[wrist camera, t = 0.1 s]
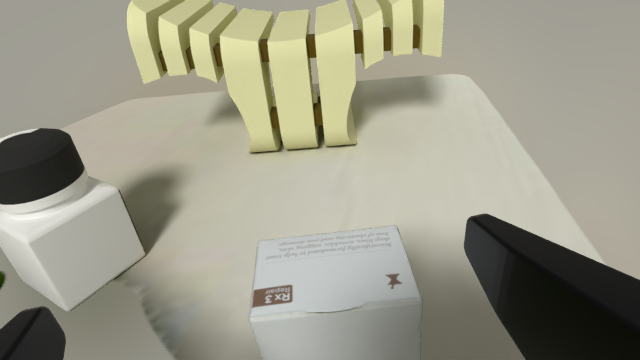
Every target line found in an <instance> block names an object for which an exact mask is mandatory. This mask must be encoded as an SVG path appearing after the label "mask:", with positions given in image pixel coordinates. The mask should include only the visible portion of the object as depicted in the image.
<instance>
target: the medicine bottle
mask: <svg viewBox="0 0 640 360" xmlns="http://www.w3.org/2000/svg"><path fill="white" fill-rule="evenodd" d="M0 247H1V249H2V250H3V252H4V253H5V255H6V256H7V258H8V259H9V260H10V262H11V264H12V265H13V267H14V268H15V270H16V271H17V273H18V274H19V276H20V277H21V279H22V280H23V281H24V282H26V283H27V284H28V285H30V286H31V287H33V288H34V289H36V290H37V291H38V292H40V293H41V294H43V295H44V296H45V297H47V298H48V299H50V300H51V301H52V302H54V303H55V304H57V305H58V306H60V307H61V308H62V309H64V310H65V311H72V310H73V309H74V308H76V307H77V306H78V305H80V304H81V303H82V302H84V301H85V300H87V299H88V298H89V297H90V296H92V295H93V294H94V293H96V292H97V291H99V290H100V289H101V288H103V287H104V286H105V285H107V284H108V283H109V282H111V281H112V280H113V279H115V278H116V277H117V276H119V275H120V274H121V273H123V272H124V271H125V270H127V269H128V268H129V267H131V266H132V265H133V264H135V263H136V262H137V261H139V260H140V259H141V258H143V257H144V256H145V250H144V248H143V245H142V243H141V240H140V238H139V236H138V233H137V231H136V229H135V226H134V224H133V221H132V219H131V217H130V214H129V212H128V210H127V207H126V205H125V202H124V200H123V198H122V195H121V193H120V191H119V189H118V188H117V187H116V186H113V185H110V184H108V183H105V182H103V181H100V180H97V179H95V178H92V177H90V176H88V174H87V171H86V169H85V167H84V165H83V163H82V160H81V158H80V156H79V154H78V152H77V150H76V147H75V145H74V143H73V141H72V139H71V136H70V135H69V134H67V133H66V132H64V131H62V130H59V129H43V128H40V129H31V130H26V131H21V132H17V133H14V134H11V135H8V136H5V137H3V138H0Z"/></svg>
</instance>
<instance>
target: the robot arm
mask: <svg viewBox="0 0 640 360" xmlns="http://www.w3.org/2000/svg"><path fill="white" fill-rule="evenodd" d="M464 249H465V253H466V255H467V257H468V259H469V261H470V263H471V265H472V267H473V269H474V271H475V273H476V275H477V277H478V279H479V281H480V283H481V285H482V287H483V289H484V291H485V293H486V295H487V297H488V299H489V301H490V303H491V305H492V307H493V309H494V311H495V312H496V314H497V316H498V317H499V319H500V321H501V322H502V324H503V325H504V327H505V328H506V330H507V331H508V333H509V335H510V336H511V338H512V339H513V341H514V342H515V344H516V345H517V347H518V348H519V350H520V352H521V353H522V355H523V356H524V358H525V359H526V360H640V280H638V279H636V278H634V277H632V276H629V275H627V274H625V273H622V272H620V271H618V270H616V269H613V268H611V267H609V266H606V265H604V264H602V263H599V262H597V261H595V260H593V259H590V258H588V257H586V256H583V255H581V254H579V253H576V252H574V251H572V250H570V249H567V248H565V247H563V246H560V245H558V244H556V243H553V242H551V241H549V240H546V239H544V238H542V237H540V236H537V235H535V234H533V233H530V232H528V231H526V230H523V229H521V228H519V227H517V226H514V225H512V224H510V223H507V222H505V221H503V220H500V219H498V218H496V217H494V216H491V215H489V214H480V215H475V216H471V217H469V218H468V220H467V224H466V232H465V240H464ZM65 344H66V338H65V334H64V332H63V330H62V328H61V327H60V325H59V324H58V322H57V320H56V319H55V318H54V316H53V314H52V313H51V311H50V310H49V309H48V308H47V307H44V306H41V307H36V308H31V309H26V310H23V311H21V312H20V313H19V314H17V315H16V316H15V317H14V318H13V319H12V320H10V321H9V322H8V323H7V324H6V325H5V326H4V327H3V328H1V329H0V360H63V358H64V351H65Z"/></svg>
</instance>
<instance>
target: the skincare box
mask: <svg viewBox="0 0 640 360" xmlns="http://www.w3.org/2000/svg"><path fill="white" fill-rule="evenodd" d="M422 308H423V300H422V297H421V295H420V293H419V290H418V287H417V284H416V281H415V278H414V275H413V272H412V269H411V266H410V263H409V260H408V257H407V254H406V252H405V248H404V246H403V242H402V240H401V236H400V233H399V230H398V228H397V227H396V226H395V225H394V226H386V227H378V228H369V229H360V230H352V231H343V232H334V233H325V234H316V235H307V236H299V237H289V238H281V239H272V240H261V241H259V242H258V244H257V253H256V262H255V272H254V280H253V288H252V296H251V304H250V311H249V323H250V326H251V328H252V331H253V334H254V337H255V340H256V343H257V345H258V348H259V351H260V354H261V357H262V360H421V320H422Z"/></svg>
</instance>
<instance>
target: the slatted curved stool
mask: <svg viewBox="0 0 640 360" xmlns="http://www.w3.org/2000/svg"><path fill="white" fill-rule="evenodd" d="M378 2H379V5H380V7H381V8H380V7H379V5H378V3H377V2H376V1H375V0H353V7H354V10H355V14H356V19H357V24H358V30H353V23H352V19H351V16H350V13H349V10H348V6H347V3H346V0H339V1H336V2H333V3H330V4H327V5H323V6H320V7H316V23H315V34H309V22H310V13H309V9H306V10H298V11H286V12H280V14H279V16H278V18H277V20H276V23H275V25H274V28H273V30H272V32H271V28H272V25H273V23H274V15H273V12H271V11H259V10H252V9H246V8H243V9H242V10H241V11H240V12H239V14H238V15H237V11H236V7H235V6H232V5H228V4H225V3H221V2H220V3H219V4H218V5H216V6H215V7H214V6H213V1H212V0H132V1H131V2H130V4H129V6H128V12H127V27H128V34H129V39H130V43H131V46H132V49H133V52H134V55H135V58H136V61H137V64H138V67H139V70H140V73H141V77H142V80H143V83H144V84H146V83H148V82H151V81H153V80H156V79H159V78H161V77H162V76H163V75H164V74H165V73H166V72H167V71H168V73H169V76H175V75H188V74H189V73H190V71H191V70H192V69H196V73H197V76H201V77H205V78H208V79H210V80H212V81H214V82H216V83H218V82H219V80H220V79H221V77H222V75H223V74H224V73H225V77H226V82H227V86H228V91H229V95H230V96H231V98H232V99H233V101H234V102H235V104H236V106H237V107H238V109H239V111H240V113H241V115H242V117H243V119H244V121H245V123H246V125H247V128H248V131H249V135H250V140H251V146H250V149H249V153H250V152H262V151H275V150H279V148H280V143H281V137H282V142H283V145H284V148H285V149H286V150H287V149H299V148H312V147H318V125H323V128H324V138H325V145H326V146H336V145H349V144H356V143H357V137H356V131H355V125H354V118H353V112H352V106H351V102H350V100H351V97H352V93H353V91H354V88H355V85H356V71H355V54H357V53H361V58H362V62H363V65H364V68H365V70H366V69H367V68H368V67H369V66H370V65H372V64H374V63H375V62H377V61H379V60H382V59H383V58H384V51H391V53H392V55H393V56H396V55H402V54H412V50H413V48H418V50H419V51H420V52H421V54H423V55H431V56H437V57H441V49H442V34H443V18H444V17H443V16H444V0H378ZM382 13H383V18H384V22H385V27H383V21H382ZM270 32H271V34H270ZM315 57H317V66H318V76H319V87H320V96H319V97H318V93H313V87H312V76H311V66H310V58H315ZM268 62H270V68H271V74H272V80H273V87H274V93H275V97H272V91H271V83H270V75H269V64H268Z"/></svg>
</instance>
